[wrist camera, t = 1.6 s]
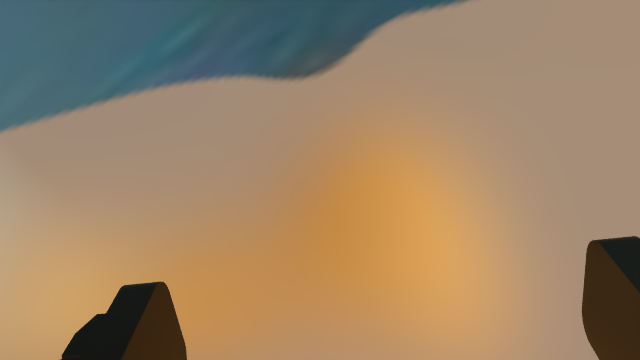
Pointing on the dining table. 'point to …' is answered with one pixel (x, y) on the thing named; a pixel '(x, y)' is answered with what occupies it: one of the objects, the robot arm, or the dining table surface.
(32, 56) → the dining table surface
